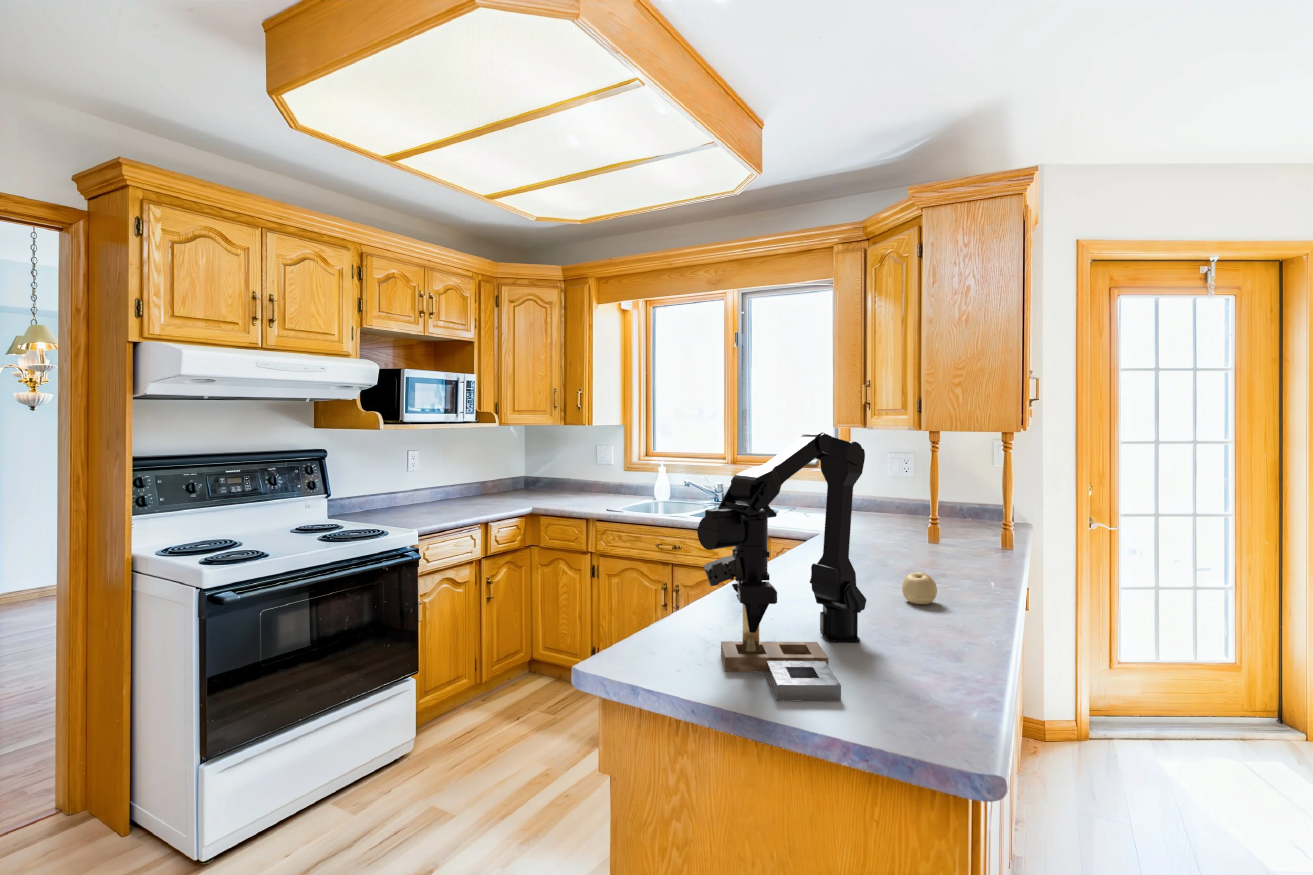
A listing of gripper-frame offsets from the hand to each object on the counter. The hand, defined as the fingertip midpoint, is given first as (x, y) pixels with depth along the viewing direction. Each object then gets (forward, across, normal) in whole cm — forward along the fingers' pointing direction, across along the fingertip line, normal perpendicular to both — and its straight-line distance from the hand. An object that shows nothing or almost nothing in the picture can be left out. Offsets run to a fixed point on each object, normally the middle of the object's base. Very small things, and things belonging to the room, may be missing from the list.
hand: (751, 629), depth 115 cm
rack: (+6, 0, +4) cm, 7 cm away
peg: (+4, 0, 0) cm, 4 cm away
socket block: (+6, +11, +7) cm, 14 cm away
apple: (+7, -39, +46) cm, 61 cm away
